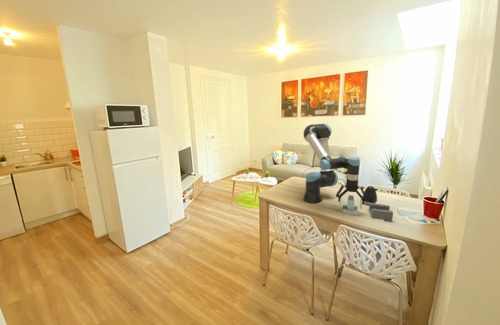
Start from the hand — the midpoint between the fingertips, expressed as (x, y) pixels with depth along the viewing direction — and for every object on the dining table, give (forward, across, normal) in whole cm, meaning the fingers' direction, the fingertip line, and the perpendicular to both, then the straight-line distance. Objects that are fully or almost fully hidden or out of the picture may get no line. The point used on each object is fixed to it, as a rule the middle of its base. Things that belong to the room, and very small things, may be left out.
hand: (350, 207), depth 150 cm
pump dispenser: (+5, +15, +20) cm, 25 cm away
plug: (+4, 0, 0) cm, 4 cm away
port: (+5, +19, +1) cm, 20 cm away
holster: (+5, 0, 0) cm, 5 cm away
